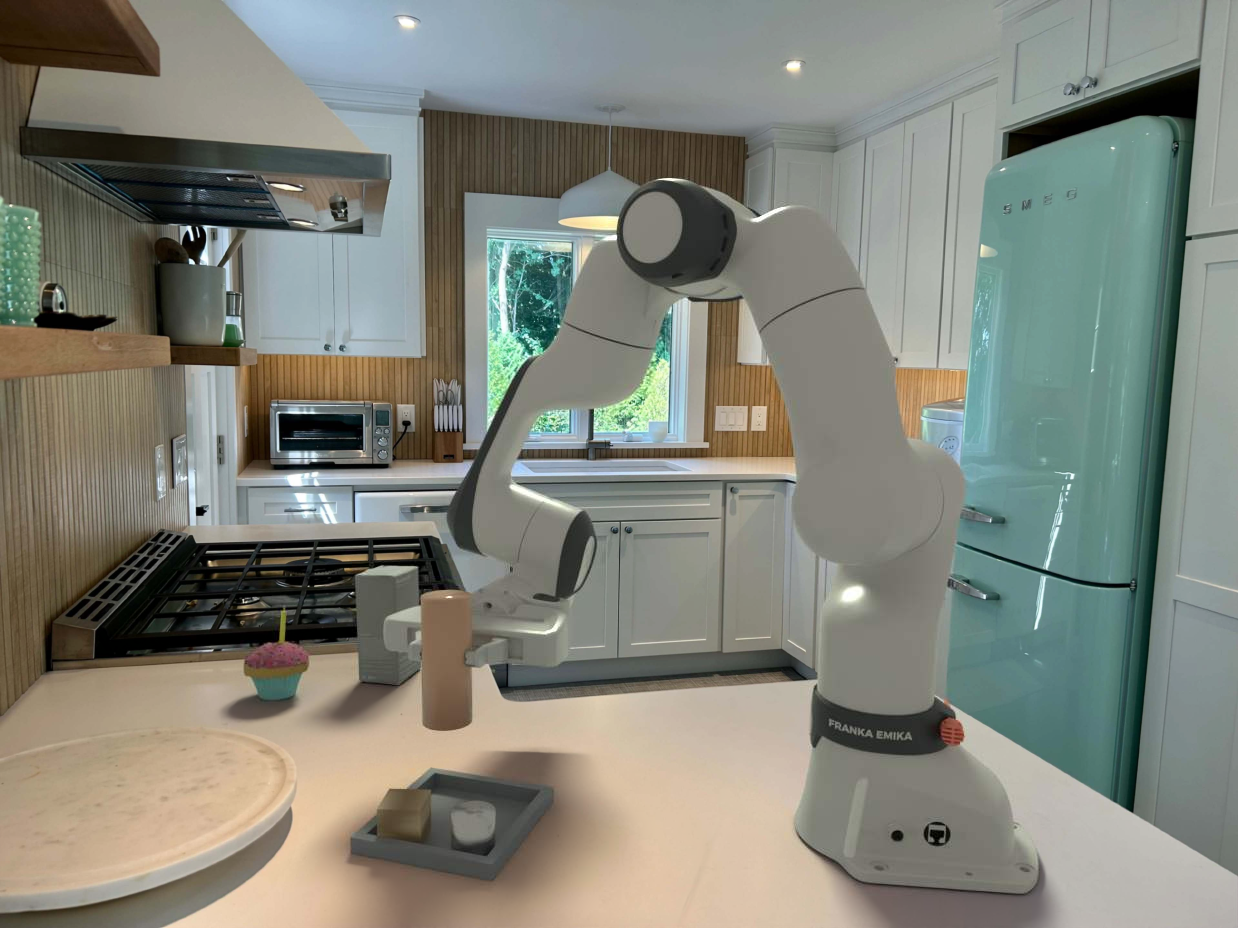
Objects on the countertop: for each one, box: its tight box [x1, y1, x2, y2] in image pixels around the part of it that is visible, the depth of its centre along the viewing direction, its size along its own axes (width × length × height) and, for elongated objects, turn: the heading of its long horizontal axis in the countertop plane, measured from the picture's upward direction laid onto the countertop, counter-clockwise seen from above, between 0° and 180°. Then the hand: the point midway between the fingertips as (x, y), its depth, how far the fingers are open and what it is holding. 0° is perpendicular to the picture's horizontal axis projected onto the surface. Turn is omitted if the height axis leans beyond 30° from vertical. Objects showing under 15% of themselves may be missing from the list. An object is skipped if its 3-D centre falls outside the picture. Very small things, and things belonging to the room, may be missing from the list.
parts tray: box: [349, 767, 555, 882], centre depth 85 cm, size 14×15×2 cm
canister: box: [420, 589, 473, 732], centre depth 89 cm, size 5×5×13 cm
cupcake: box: [243, 604, 310, 701], centre depth 120 cm, size 9×8×12 cm
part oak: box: [376, 788, 431, 844], centre depth 82 cm, size 4×4×4 cm
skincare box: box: [354, 565, 422, 686], centre depth 129 cm, size 8×7×16 cm
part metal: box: [451, 801, 495, 856], centre depth 80 cm, size 4×4×4 cm
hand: (442, 656), depth 88 cm, fingers closed on canister, 5 cm apart
